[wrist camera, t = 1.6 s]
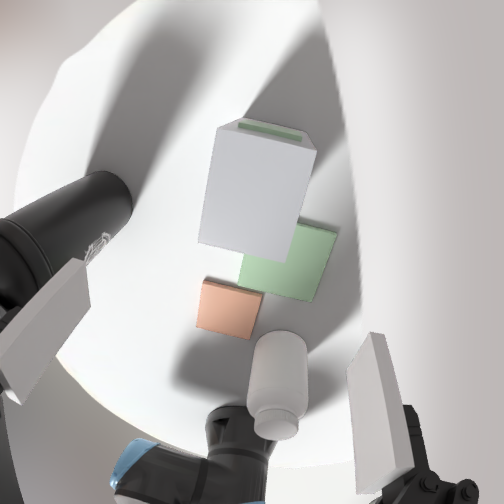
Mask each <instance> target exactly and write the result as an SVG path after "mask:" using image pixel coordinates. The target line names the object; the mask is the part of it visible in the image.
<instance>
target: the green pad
mask: <svg viewBox="0 0 504 504" xmlns="http://www.w3.org/2000/svg"><path fill="white" fill-rule="evenodd" d="M336 236H337V235H336V232H332V231H328V230H324V229H320V228H316V227H312V226H309V225H305V224H301V223H297V225H296V228H295V231H294V235H293V238H292V242H291V245H290V248H289V252H288V255H287V258H286V262H285V263H281V262H277V261H273V260H269V259H265V258H260V257H256V256H252V255H248V254H244V257H243V262H242V266H241V270H240V275H239V279H238V284H237V286H242V287H246V288H250V289H254V290H259V291H263V292H267V293H272V294H276V295H280V296H285V297H289V298H294V299H298V300H303V301H307V302H312V300H313V297H314V295H315V292H316V290H317V287H318V285H319V282H320V279H321V277H322V274H323V271H324V269H325V266H326V263H327V261H328V258H329V255H330V252H331V250H332V247H333V244H334V241H335V239H336Z"/></svg>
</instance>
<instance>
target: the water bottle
mask: <svg viewBox="0 0 504 504" xmlns="http://www.w3.org/2000/svg"><path fill="white" fill-rule="evenodd" d="M131 214H132V198H131V195H130V192H129V190H128V188H127V186H126V185H125V183H124V182H123V181H122V180H121V179H120V178H119V177H117V176H116V175H114V174H112V173H110V172H106V171H98V172H95V173H92V174H90V175H88V176H86V177H83V178H81V179H79V180H77V181H75V182H73V183H70V184H68V185H66V186H64V187H62V188H60V189H58V190H56V191H54V192H52V193H50V194H48V195H46V196H44V197H42V198H40V199H38V200H36V201H34V202H32V203H30V204H29V205H27V206H25V207H23V208H21V209H19V210H18V211H16V212H14V213H12V214H11V215H9V216H7V217H5V218H1V219H0V321H1V318H2V317H3V316H4V315H5V314H6V313H7V312H8V311H10V310H11V309H13V308H15V307H17V306H19V307H21V308H23V307H24V306H25V305H26V304H27V303H28V302H29V301H30V300H31V299H32V298H33V297H34V296H35V295H36V294H37V293H38V291H39V290H40V289H41V288H42V287H43V286H44V285H45V284H46V283H47V282H48V281H49V280H50V279H51V278H52V277H53V276H54V275H55V274H56V273H57V272H58V271H59V270H60V269H61V268H62V267H63V266H64V265H65V264H66V263H68V262H69V261H70V260H71V259H72V258H76V259H79V260H82V261H85V262H86V266H87V265H88V264H89V263H90V262H91V261H92V259H94V257H95V256H96V255H97V254H98V253H99V252H100V251H101V250H102V249H103V248H104V247H105V245H107V244H108V243H109V241H110V240H111V239H112V238H113V237H114V236H115V235H116V234H117V233H118V232H119V231H120V230H121V229H122V228H123V227H124V226H125V225H126V224H127V222H128V221H129V219H130V217H131Z"/></svg>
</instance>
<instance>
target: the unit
mask: <svg viewBox="0 0 504 504" xmlns="http://www.w3.org/2000/svg"><path fill="white" fill-rule="evenodd" d="M316 154H317V150H316V148H315V146H314V145H313V143H312V141H311V139H310V138H309V136H308V134H307V133H306V132H304V131H300V130H296V129H292V128H288V127H284V126H280V125H276V124H271V123H267V122H262V121H258V120H253V119H248V118H244V117H242V118H240V119H237V120H235V121H233V122H230V123H228V124H226V125H223V126H221V127H219V128H217V131H216V136H215V142H214V147H213V152H212V158H211V164H210V169H209V175H208V181H207V187H206V193H205V199H204V205H203V211H202V218H201V224H200V231H199V237H198V243H202V244H206V245H210V246H214V247H219V248H223V249H227V250H231V251H235V252H239V253H244V254H248V255H252V256H256V257H260V258H265V259H269V260H273V261H277V262H281V263H285V262H286V258H287V255H288V252H289V248H290V245H291V242H292V238H293V235H294V231H295V228H296V225H297V221H298V218H299V214H300V211H301V208H302V204H303V201H304V197H305V194H306V190H307V186H308V183H309V179H310V176H311V172H312V169H313V165H314V161H315V158H316Z"/></svg>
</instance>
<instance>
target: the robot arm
mask: <svg viewBox="0 0 504 504" xmlns="http://www.w3.org/2000/svg"><path fill="white" fill-rule="evenodd" d="M90 307H91V305H90V297H89V289H88V281H87V271H86V262H85V261H82V260H79V259H76V258H72V259H71V260H70V261H69V262H68V263H66V264H65V265H64V266H63V267H62V268H61V269H60V270H59V271H58V272H57V273H56V274H55V275H54V276H53V277H52V278H51V279H50V280H49V281H48V282H47V283H46V284H45V285H44V286H43V287H42V288H41V289H40V290H39V291H38V293H37V294H36V295H35V296H34V297H33V298H32V299H31V300H30V301H29V302H28V303H27V304H26V305H25V306H24V307H23V308H21V307H19V306H17V307H15V308H13V309H11V310H10V311H8V312H7V313H6V314H5V315H4V316H3V317H2V318H1V321H0V504H24V501H23V498H22V495H21V492H20V488H19V484H18V481H17V477H16V473H15V469H14V465H13V460H12V456H11V451H10V446H9V440H8V435H7V429H6V422H5V415H4V407H3V399H2V396H1V393H2V392H3V390H5V392H6V394H7V395H8V397H9V398H10V399H12V400H14V401H15V402H17V403H19V404H20V405H23V404H24V402H25V400H26V399H27V397H28V396H29V394H30V393H31V391H32V389H33V388H34V386H35V385H36V383H37V382H38V380H39V379H40V377H41V376H42V374H43V373H44V371H45V370H46V368H47V367H48V365H49V364H50V362H51V361H52V360H53V358H54V357H55V355H56V354H57V352H58V351H59V349H60V348H61V347H62V345H63V344H64V342H65V341H66V340H67V338H68V337H69V336H70V334H71V333H72V331H73V330H74V329H75V327H76V326H77V325H78V323H79V322H80V321H81V319H82V318H83V317H84V315H85V314H86V313H87V311H88V310H89V309H90ZM346 375H347V384H348V392H349V402H350V411H351V422H352V433H353V445H354V460H355V476H356V494H374V493H376V492H377V491H379V490H381V489H382V496H380V497H378V498H377V499H375V500H373V501H372V502H371V503H369V504H374V503H375V504H478V498H479V490H478V487H477V485H476V483H475V482H474V481H472V480H471V479H465V480H462V481H460V482H459V483H457V484H454V483H450V482H445V481H442V480H440V478H439V476H438V475H437V474H436V473H435V472H433V471H431V470H430V468H429V465H428V460H427V455H426V450H425V445H424V440H423V437H422V431H421V428H420V423H419V418H418V415H417V413H416V412H415V410H414V408H413V407H412V405H402V400H401V396H400V392H399V388H398V384H397V380H396V376H395V372H394V368H393V364H392V360H391V356H390V353H389V349H388V346H387V342H386V338H385V335H384V334H379V333H374V332H369V334H368V336H367V338H366V339H365V341H364V342H363V344H362V346H361V347H360V349H359V351H358V352H357V354H356V356H355V357H354V359H353V360H352V362H351V364H350V365H349V367H348V368H347V370H346ZM254 424H255V418H254V417H252V416H251V414H250V413H249V411H248V409H247V407H237V406H234V407H224V408H219V409H217V410H214V411H213V412H211V413H210V414H209V415H208V418H207V422H206V426H205V430H206V437H207V443H208V450H209V452H208V457H207V459H205V458H201V457H198V456H194V455H191V454H188V453H184V452H181V451H178V450H175V449H173V448H170V447H166V446H164V445H161V444H160V443H155V442H151V441H148V440H145V439H141V438H137V439H134V440H132V441H131V442H130V443H129V444H128V446H127V447H126V448H125V450H124V451H123V453H122V454H121V456H120V458H119V460H118V461H117V463H116V466H115V468H114V471H113V473H112V475H111V478H110V485H111V487H113V489H115V490H116V492H115V495H114V498H115V500H116V502H117V504H265V492H266V482H267V481H266V480H267V470H268V461H269V458H270V456H271V454H272V452H273V450H274V448H275V446H276V444H277V442H278V441H276V440H268V439H264V438H262V437H260V436H258V435H257V434H256V432H255V431H254Z"/></svg>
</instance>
